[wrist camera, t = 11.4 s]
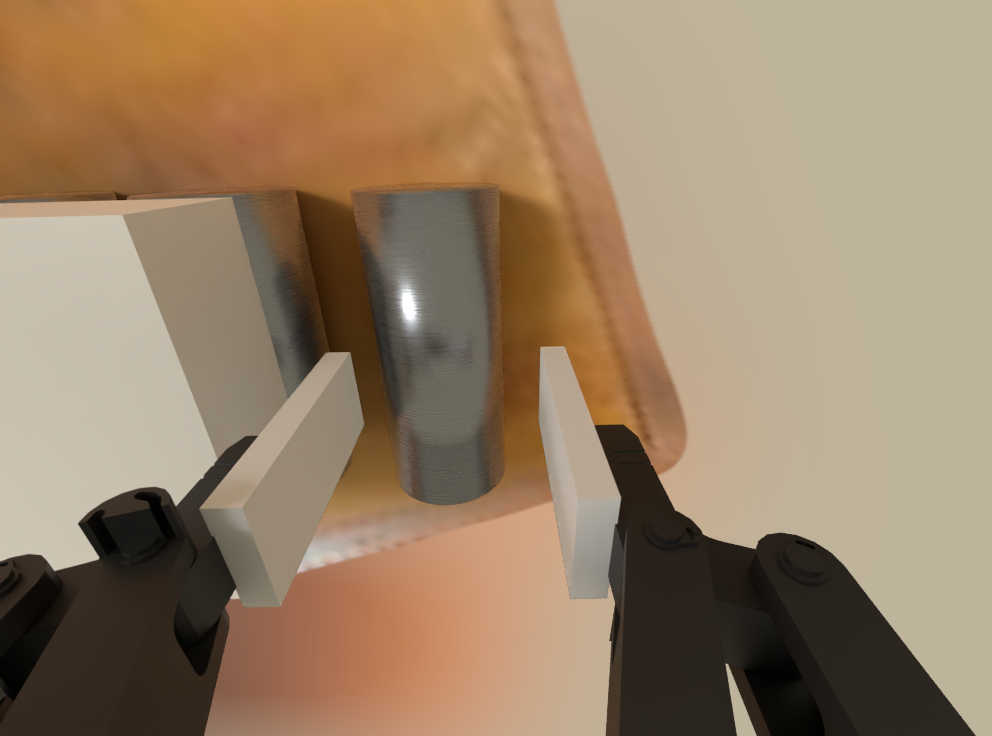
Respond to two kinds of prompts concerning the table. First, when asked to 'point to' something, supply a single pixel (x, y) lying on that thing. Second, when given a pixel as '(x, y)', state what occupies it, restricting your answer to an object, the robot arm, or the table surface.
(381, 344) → the roller
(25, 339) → the slab
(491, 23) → the table surface
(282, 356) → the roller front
